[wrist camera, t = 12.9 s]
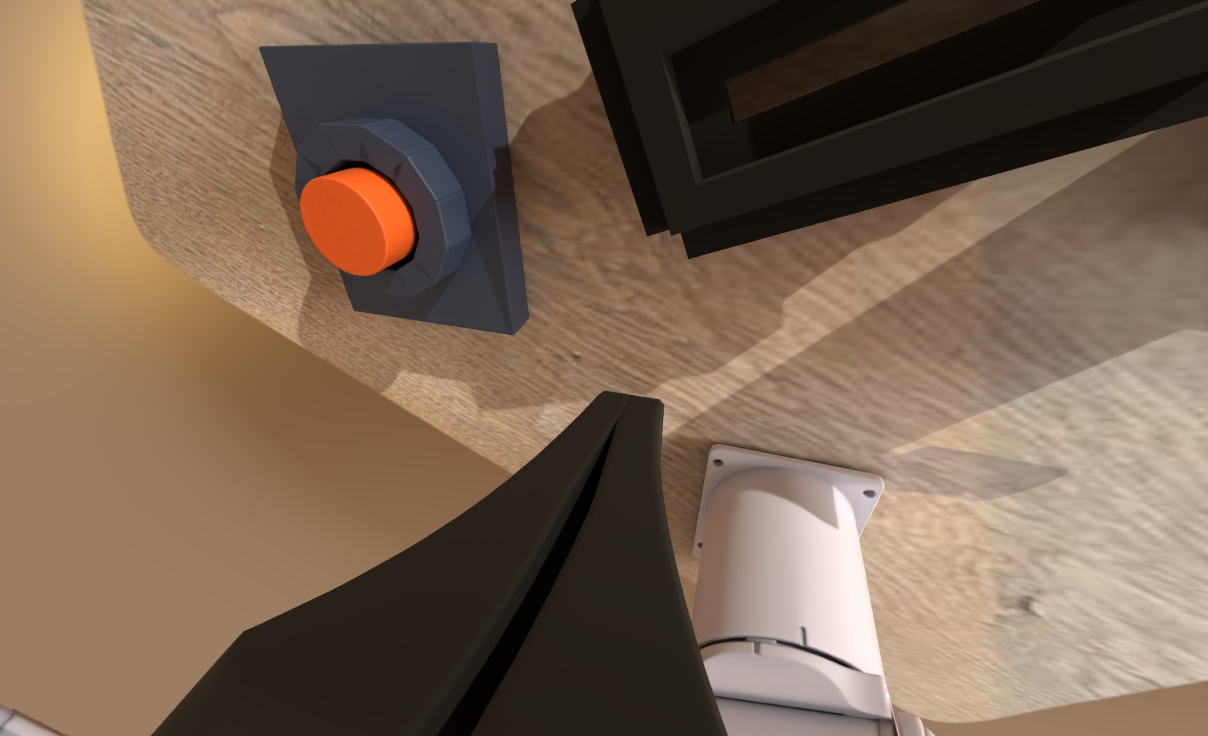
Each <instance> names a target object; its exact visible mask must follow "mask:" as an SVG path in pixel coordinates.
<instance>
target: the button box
mask: <svg viewBox="0 0 1208 736" xmlns="http://www.w3.org/2000/svg"><path fill="white" fill-rule="evenodd" d="M259 49H260V52H261V55H262V58H263V60H264V63H265V66H266V69H267V71H268V74H269V77H270V80H271V82H272V85H273V88H274V91H275V94H276V96H277V99H278V102H279V105H280V107H281V110H282V113H283V116H284V118H285V121H286V124H287V127H288V130H289V132H290V135H291V138H292V141H293V143H294V146H295V149H296V152H297V163H296V180H295V190H296V194H297V197H298V200H299V202H300V199H301V194H302V191H303V189H304V187H305V186H306V185H307V184H308V182H310V181H311V180H312V179H314V178H317V177H320V176H324V175H328V174H332V173H335V172H339V171H343V170H346V169H350V168H355V167H362V168H367V169H370V170H373V171H376V172H378V173H379V174H381V175H383V176H384V177H386V178H387V179H388V180H390V181H391V182H392V183H393V184H394V185H395V186H396V187H397V188H398V189H399V191H400V192H401V193H402V195H403V196H404V198H405V199H406V201H407V203H408V204H409V206H410V209H411V211H412V213H413V217H414V220H415V225H416V239H415V243H414V246H413V248H412V250H411V252H410V253H409V254H408V255H407V256H406V257H405V258H403V259H401V260H399V261H397V262H396V263H394V264H392V265H390V266H388V267H387V268H385V269H383V270H381V271H379V272H378V273H376V274H373V275H370V276H358V275H353V274H350V273H348V272H345V271H343V270H341V269H340V268H339V271H340V274H341V276H342V279H343V282H344V285H345V287H346V290H347V293H348V296H349V298H350V301H351V304H352V307H353V310H354V311H359V312H365V313H372V314H378V315H385V316H391V317H398V318H405V319H411V320H418V321H424V322H431V323H437V324H444V325H450V326H457V327H463V328H470V329H476V330H483V331H489V332H496V333H502V334H509V335H514V334H515V333H516V332H517V331H518V330H519V329H520V328H521V327H522V326H523V324H524V323H525V322H526V321H527V320H528V319H529V316H528V308H527V299H526V290H525V282H524V273H523V265H522V256H521V248H520V239H519V231H518V222H517V213H516V205H515V196H514V188H513V179H512V171H511V162H510V154H509V145H508V136H507V128H506V119H505V111H504V102H503V94H502V85H501V76H500V68H499V59H498V51H497V44H496V43H483V42H447V43H399V44H351V45H303V46H260V47H259Z"/></svg>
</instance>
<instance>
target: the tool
mask: <svg viewBox="0 0 1208 736" xmlns="http://www.w3.org/2000/svg"><path fill="white" fill-rule="evenodd" d="M907 1H909V0H576V1H575V2H573V3H572V4H571V7H572V10H573V13H574V16H575V19H576V22H577V25H578V28H579V31H580V34H581V37H582V40H583V43H584V46H585V49H586V52H587V55H588V58H589V61H590V64H591V67H592V70H593V73H594V76H595V80H596V83H597V86H598V89H599V92H600V95H601V98H602V101H603V104H604V107H605V110H606V113H607V116H608V119H609V122H610V125H611V128H612V131H613V134H614V137H615V140H616V143H617V146H618V149H619V152H620V155H621V159H622V162H623V165H624V168H625V171H626V174H627V177H628V180H629V183H630V186H631V189H632V192H633V195H634V198H635V201H636V204H637V207H638V210H639V213H640V216H641V219H642V222H643V225H644V228H645V231H646V234H647V236H650V235H653V234H657V233H660V232H663V231H666V230H670V233H671V236H672V235H675V234H678V233H681V236H682V239H683V242H684V246H685V249H686V252H687V256H688V259H691V258H694V257H698V256H702V255H705V254H709V253H712V252H716V251H720V250H723V249H727V248H730V247H734V246H738V245H741V244H745V243H749V242H752V241H756V240H759V239H763V238H767V237H770V236H774V235H778V234H781V233H785V232H788V231H792V230H796V229H799V228H803V227H807V226H810V225H814V224H817V223H821V222H825V221H828V220H832V219H835V218H839V217H843V216H846V215H850V214H854V213H857V212H861V211H864V210H868V209H872V208H875V207H879V206H883V205H886V204H890V203H893V202H897V201H901V200H904V199H908V198H912V197H915V196H919V195H922V194H926V193H930V192H933V191H937V190H940V189H944V188H948V187H951V186H955V185H959V184H962V183H966V182H969V181H973V180H977V179H980V178H984V177H988V176H991V175H995V174H998V173H1002V172H1006V171H1009V170H1013V169H1017V168H1020V167H1024V166H1027V165H1031V164H1035V163H1038V162H1042V161H1045V160H1049V159H1053V158H1056V157H1060V156H1064V155H1067V154H1071V153H1074V152H1078V151H1082V150H1085V149H1089V148H1093V147H1096V146H1100V145H1103V144H1107V143H1111V142H1114V141H1118V140H1122V139H1125V138H1129V137H1132V136H1136V135H1140V134H1143V133H1147V132H1150V131H1154V130H1158V129H1161V128H1165V127H1169V126H1172V125H1176V124H1179V123H1183V122H1187V121H1190V120H1194V119H1198V118H1201V117H1205V116H1208V0H1040V1H1038V2H1035V3H1033V4H1030V5H1028V6H1025V7H1023V8H1020V9H1018V10H1015V11H1013V12H1010V13H1008V14H1005V15H1003V16H1000V17H998V18H995V19H993V20H990V21H988V22H985V23H983V24H980V25H978V26H975V27H973V28H971V29H968V30H966V31H963V32H961V33H958V34H956V35H953V36H951V37H948V38H946V39H943V40H941V41H938V42H936V43H933V44H931V45H928V46H926V47H923V48H921V49H918V50H916V51H913V52H911V53H908V54H906V55H903V56H901V57H898V58H896V59H893V60H891V61H888V62H886V63H883V64H881V65H878V66H876V67H873V68H871V69H868V70H866V71H864V72H861V73H859V74H856V75H854V76H851V77H849V78H846V79H844V80H841V81H839V82H836V83H834V84H831V85H829V86H826V87H824V88H821V89H819V90H816V91H814V92H811V93H809V94H806V95H804V96H801V97H799V98H796V99H794V100H791V101H789V102H786V103H784V104H781V105H779V106H776V107H774V108H771V109H769V110H766V111H764V112H761V113H759V114H756V115H754V116H752V117H749V118H747V119H744V120H742V121H739V122H737V123H735V120H734V116H733V112H732V107H731V103H730V98H729V94H728V90H727V85H726V82H728V81H730V80H733V79H735V78H737V77H739V76H742V75H744V74H746V73H748V72H750V71H753V70H755V69H757V68H759V67H762V66H764V65H766V64H768V63H771V62H773V61H775V60H777V59H780V58H782V57H784V56H786V55H788V54H791V53H793V52H795V51H797V50H800V49H802V48H804V47H806V46H809V45H811V44H813V43H815V42H818V41H820V40H822V39H824V38H826V37H829V36H831V35H833V34H835V33H838V32H840V31H842V30H844V29H847V28H849V27H851V26H853V25H855V24H858V23H860V22H862V21H864V20H867V19H869V18H871V17H873V16H876V15H878V14H880V13H882V12H885V11H887V10H889V9H891V8H893V7H896V6H898V5H900V4H902V3H905V2H907Z"/></svg>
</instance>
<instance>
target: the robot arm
mask: <svg viewBox="0 0 1208 736" xmlns="http://www.w3.org/2000/svg"><path fill="white" fill-rule="evenodd" d="M663 415H664V404H663V403H662V402H661V401H660V400H659V399H653V398H647V397H641V396H634V395H628V394H622V393H616V392H610V391H603V392H602V393H600V394H599V395H598V396H597V397H596V398H595V399H594V400H593V401H592V402H591V403H590V405H589V406H588V407H587V408H586V409H585V410H584V411H583V412H582V413H581V414H580V415H579V416H578V417H577V418H576V419H575V420H574V421H573V422H572V423H571V424H570V425H569V426H568V427H567V428H566V429H565V430H564V431H563V432H562V433H561V434H559V435H558V436H557V437H556V438H555V439H554V440H553V441H552V442H551V443H550V444H549V445H548V446H547V447H545V448H544V449H543V450H542V451H541V452H540V453H539V454H538V455H537V456H536V457H534V458H533V459H532V460H531V461H530V462H528V463H527V464H526V465H525V466H524V467H522V468H521V469H520V470H519V471H518V472H517V473H515V474H514V475H513V476H512V477H511V478H509V479H508V480H507V481H506V482H504V483H503V484H502V485H501V486H499V487H498V488H497V489H495V490H494V491H493V492H492V493H491V494H489V495H488V496H486V497H485V498H484V499H482V500H481V501H479V502H478V503H477V504H475V505H474V506H472V507H471V508H470V509H468V510H467V511H465V512H464V513H463V514H461V515H460V516H458V517H457V518H455V519H454V520H452V521H451V522H449V523H447V524H446V525H444V526H443V527H441V528H440V529H438V530H437V531H435V532H434V533H432V534H431V535H429V536H428V537H426V538H424V539H423V540H421V541H419V542H418V543H416V544H414V545H413V546H411V547H409V548H408V549H406V550H404V551H403V552H401V553H399V554H397V555H395V556H394V557H392V558H390V559H389V560H386V561H385V562H383V563H381V564H379V565H378V566H376V567H374V568H372V569H370V570H368V571H367V572H365V573H363V574H361V575H359V576H358V577H356V578H354V579H352V580H350V581H348V582H346V583H345V584H343V585H341V586H339V587H337V588H335V589H333V590H331V591H329V592H327V593H325V594H323V595H321V596H318V597H317V598H314V599H312V600H310V601H308V602H306V603H304V604H302V605H299V606H297V607H295V608H293V609H291V610H289V611H287V612H285V613H283V614H281V615H278V616H276V617H274V618H272V619H270V620H268V621H266V622H264V623H261V624H259V625H257V626H255V627H253V628H250V629H248V630H246V631H244V632H243V633H242V634H241V635H240V636H239V637H238V638H237V639H236V640H235V641H234V642H233V643H232V644H231V646H230V647H229V648H228V649H227V650H226V651H225V652H224V653H223V655H222V656H221V657H220V658H219V659H218V660H217V661H216V663H215V664H214V665H213V666H212V667H211V668H210V669H209V670H208V671H207V673H206V674H205V675H204V676H203V677H202V678H201V680H200V681H199V682H198V683H197V684H196V685H195V686H194V687H193V688H192V690H191V691H190V692H189V693H188V694H187V695H186V696H185V698H184V699H183V700H182V701H181V702H180V703H179V704H178V705H177V707H176V708H175V709H174V710H173V711H172V712H171V713H170V715H169V716H168V717H167V718H166V719H165V720H164V721H163V723H162V724H161V725H160V726H159V727H158V728H157V729H156V731H155V732H154V733H153V734H152V735H151V736H899V733H898V729H897V725H896V721H895V717H894V713H893V709H892V705H891V701H890V697H889V693H888V689H887V685H886V682H885V679H884V673H883V668H882V662H881V657H880V651H879V646H878V641H877V635H876V630H875V624H874V619H873V613H872V608H871V602H870V597H869V592H868V586H867V581H866V575H865V570H864V564H863V559H862V554H861V548H860V543H859V537H860V535H861V533H862V531H863V529H864V527H865V525H866V523H867V521H868V519H869V517H870V515H871V513H872V511H873V509H874V508H875V506H876V504H877V502H878V500H879V498H880V496H881V494H882V492H883V490H884V487H885V485H884V481H883V479H882V477H880V476H879V475H876V474H872V473H867V472H862V471H857V470H852V469H847V468H841V467H836V466H831V465H826V464H821V463H816V462H811V461H805V460H800V459H795V458H790V457H785V456H780V455H775V454H769V453H764V452H759V451H754V450H749V449H744V448H738V447H733V446H728V445H723V444H715V445H713V446H711V448H710V450H709V456H708V462H707V468H706V474H705V479H704V485H703V491H702V497H701V503H700V508H699V514H698V520H697V526H696V532H695V538H694V543H693V549H692V555H693V556H694V557H695V558H696V559H699V560H700V567H699V574H698V582H697V590H696V596H695V604H694V611H693V618H692V622H691V619H690V616H689V612H688V609H687V606H686V602H685V598H684V594H683V590H682V586H681V582H680V578H679V574H678V570H677V566H676V561H675V557H674V553H673V548H672V543H671V538H670V533H669V528H668V523H667V517H666V510H665V504H664V498H663V490H662V481H661V470H660V460H661V445H662V430H663ZM715 459H719V460H721V461H716V460H715ZM866 490H872V491H869V492H868V491H866ZM898 719H899V725H900V731H901V736H935V735H934V734H933V733H932V732H931V731H930V730H929V729H928V728H926V727H923V725H922V722H921V720H920V718H919V717H918V716H917V715H914V714H909V713H901V712H898ZM0 736H68V735H66V734H64V733H62V732H60V731H58V730H56V729H54V728H52V727H50V726H48V725H46V724H44V723H42V722H40V721H38V720H36V719H34V718H32V717H30V716H28V715H25V714H23V713H21V712H19V711H17V710H15V709H9V708H7V707H5V706H3V705H1V704H0Z"/></svg>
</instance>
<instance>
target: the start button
mask: <svg viewBox="0 0 1208 736" xmlns="http://www.w3.org/2000/svg"><path fill="white" fill-rule="evenodd" d="M300 211H301V216H302V220H303V223H304V226H305V228H306V231H307V233H308V235H309V236H310V238H311V240H312V241H313V243H314V244H315V246H316V247H317V248H318V250H319V251H320V252H321V253H322V254H323V255H324V256H325V257H326V258H327V259H328V260H329V261H330V262H331V263H332V264H334V265H335V266H337V267H338V268H340V269H341V270H343V271H345V272H348V273H350V274H353V275H358V276H370V275H373V274H376V273H378V272H379V271H381V270H383V269H385V268H387V267H388V266H390V265H392V264H394V263H396V262H397V261H399V260H401V259H403V258H405V257H406V256H407V255H408V254H409V253H410V252H411V250H412V248H413V246H414V243H415V239H416V225H415V220H414V217H413V213H412V211H411V209H410V206H409V204H408V203H407V201H406V199H405V198H404V196H403V195H402V193H401V192H400V191H399V189H398V188H397V187H396V186H395V185H394V184H393V183H392V182H391V181H390V180H388V179H387V178H386V177H384V176H383V175H381V174H379V173H378V172H376V171H373V170H370V169H367V168H362V167H355V168H350V169H346V170H343V171H339V172H335V173H332V174H328V175H324V176H320V177H317V178H314V179H312V180H311V181H310V182H308V184H307V185H306V186H305V187H304V189H303V191H302V194H301V199H300Z"/></svg>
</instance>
